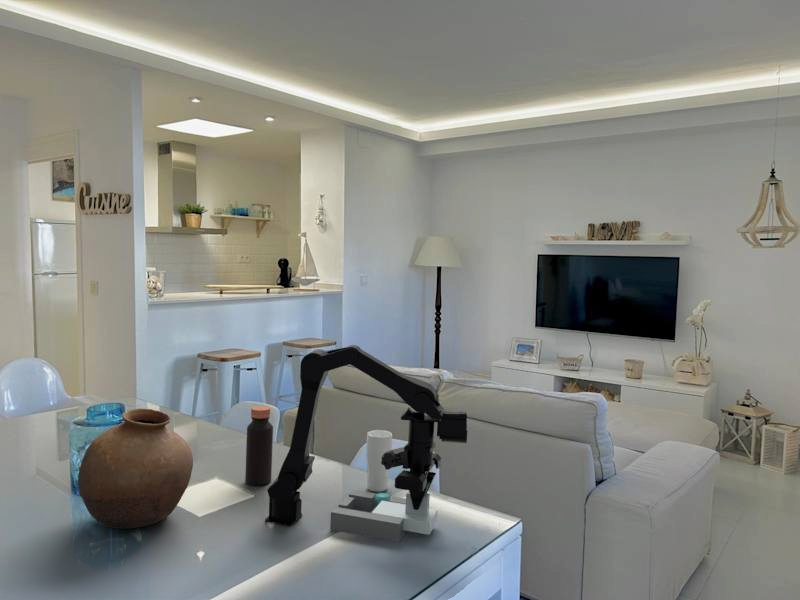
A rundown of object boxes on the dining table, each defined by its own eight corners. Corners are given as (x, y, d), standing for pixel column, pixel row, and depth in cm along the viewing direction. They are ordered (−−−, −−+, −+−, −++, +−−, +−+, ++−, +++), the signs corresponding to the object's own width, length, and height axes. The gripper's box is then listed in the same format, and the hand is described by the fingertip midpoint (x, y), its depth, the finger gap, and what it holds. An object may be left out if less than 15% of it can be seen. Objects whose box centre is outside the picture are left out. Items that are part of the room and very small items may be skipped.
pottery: (82, 508, 137) (84, 402, 136) (188, 497, 146) (190, 397, 145) (71, 554, 116) (73, 429, 115) (195, 537, 125) (198, 421, 124)
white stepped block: (371, 524, 133) (372, 493, 132) (381, 511, 140) (382, 481, 139) (429, 534, 129) (431, 502, 129) (436, 521, 136) (438, 490, 136)
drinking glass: (386, 495, 153) (389, 438, 153) (361, 491, 155) (364, 435, 154) (392, 485, 160) (394, 431, 159) (368, 482, 161) (370, 428, 161)
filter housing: (330, 529, 132) (330, 512, 132) (352, 505, 146) (353, 490, 145) (398, 542, 128) (399, 524, 127) (415, 516, 141) (416, 500, 141)
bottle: (256, 488, 154) (258, 412, 153) (239, 481, 158) (242, 407, 157) (276, 481, 159) (279, 408, 158) (260, 475, 163) (262, 403, 162)
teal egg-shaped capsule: (373, 508, 141) (373, 497, 141) (377, 503, 144) (378, 492, 144) (386, 510, 140) (387, 499, 140) (391, 505, 143) (391, 494, 143)
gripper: (398, 425, 144) (395, 487, 145) (373, 446, 126) (370, 518, 127) (443, 430, 141) (439, 494, 142) (424, 453, 123) (420, 526, 124)
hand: (417, 507), depth 133 cm, fingers closed on white stepped block, 2 cm apart
